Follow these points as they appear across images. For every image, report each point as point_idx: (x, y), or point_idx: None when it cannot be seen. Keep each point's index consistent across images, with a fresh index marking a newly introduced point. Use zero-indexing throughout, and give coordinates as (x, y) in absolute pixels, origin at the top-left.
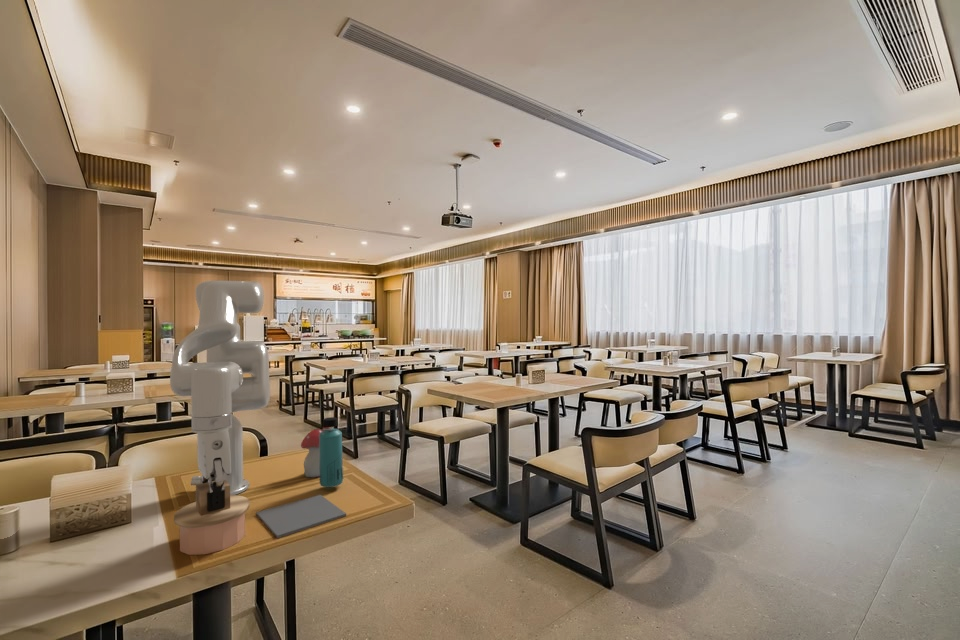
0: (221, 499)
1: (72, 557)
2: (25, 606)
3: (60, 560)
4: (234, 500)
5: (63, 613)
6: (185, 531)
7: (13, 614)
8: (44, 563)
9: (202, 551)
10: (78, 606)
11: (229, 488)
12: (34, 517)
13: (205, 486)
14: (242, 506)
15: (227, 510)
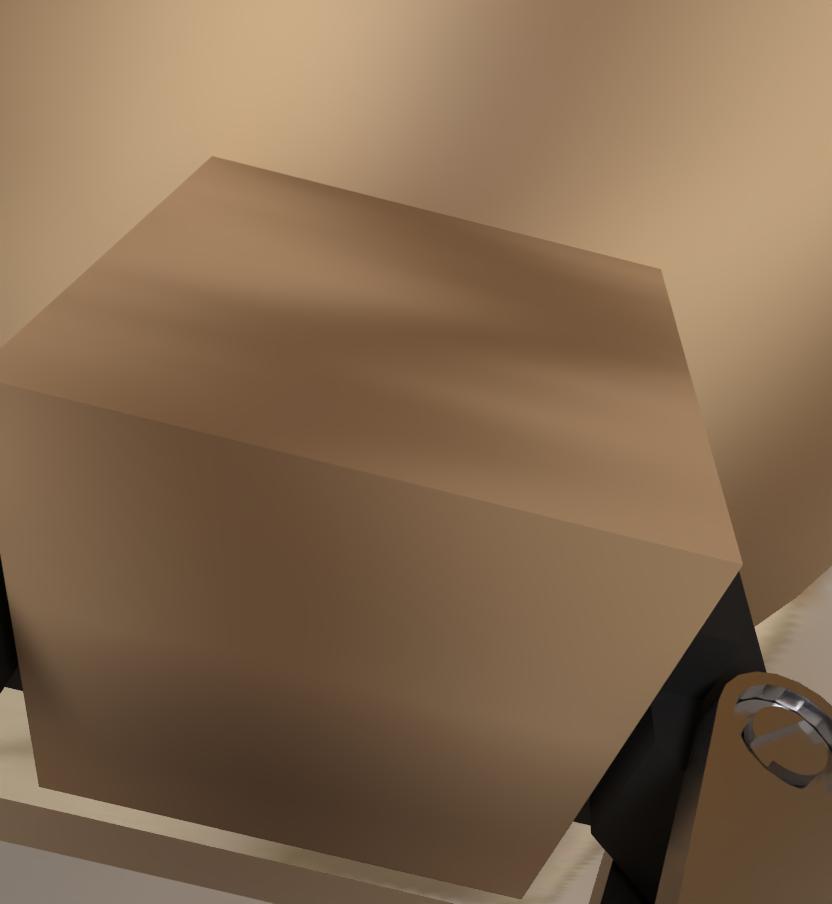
0: None
1: (13, 709)
2: (385, 868)
3: (14, 734)
4: (365, 32)
5: (578, 852)
6: None
7: (415, 889)
8: (4, 761)
9: None
10: (576, 825)
11: (714, 509)
12: None
13: (274, 772)
14: (822, 93)
15: (706, 338)
